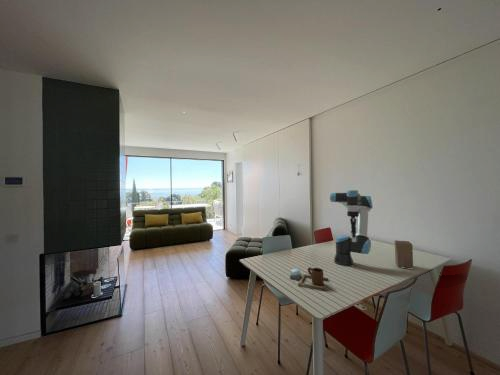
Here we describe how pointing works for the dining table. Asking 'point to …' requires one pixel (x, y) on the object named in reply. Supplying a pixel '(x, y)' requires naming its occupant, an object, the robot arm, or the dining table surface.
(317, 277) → the mug
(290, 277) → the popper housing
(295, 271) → the dome
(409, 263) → the wooden block
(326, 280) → the bay
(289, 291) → the dining table surface
